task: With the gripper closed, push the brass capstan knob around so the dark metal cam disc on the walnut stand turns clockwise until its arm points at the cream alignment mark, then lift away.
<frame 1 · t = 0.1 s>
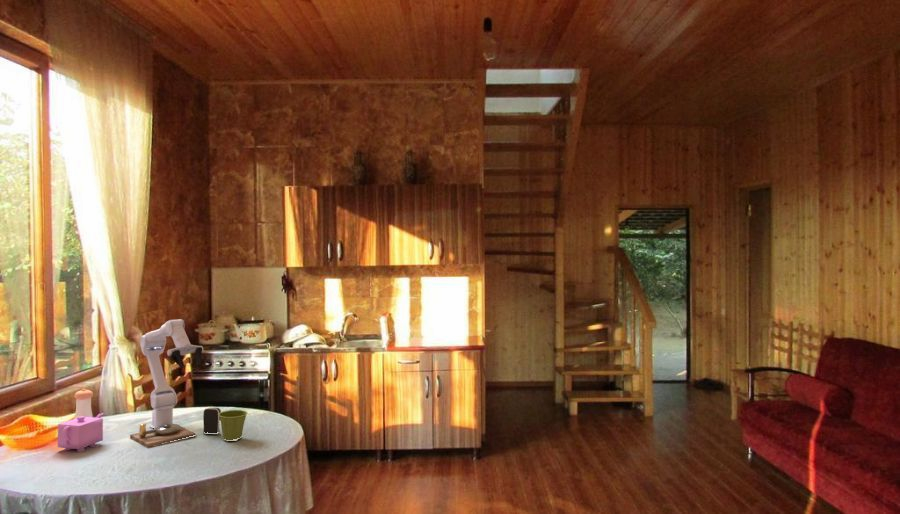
hand: (191, 365, 249), 32 cm above the table, tool tilted 50°, fingers open, 7 cm apart
battery charger: (212, 434, 260), on the table
cam disc: (159, 427, 254), point 4 cm above the table, hinge at 0.0°
pepper shaker: (83, 432, 260), on the table
plant pot: (232, 440, 252), on the table
teapot: (83, 446, 241), on the table
stand: (163, 437, 254), on the table
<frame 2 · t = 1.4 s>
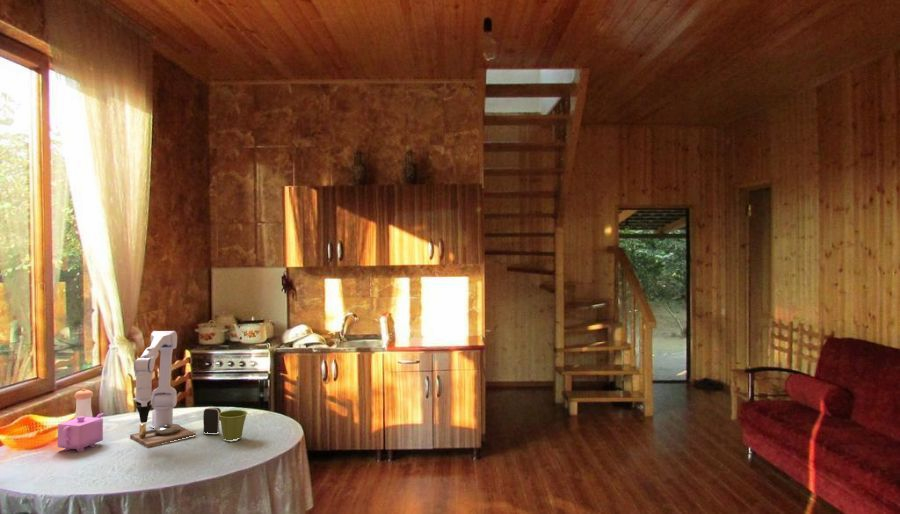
hand: (143, 420, 243), 10 cm above the table, tool pointing down, fingers open, 7 cm apart
nothing on the table moved.
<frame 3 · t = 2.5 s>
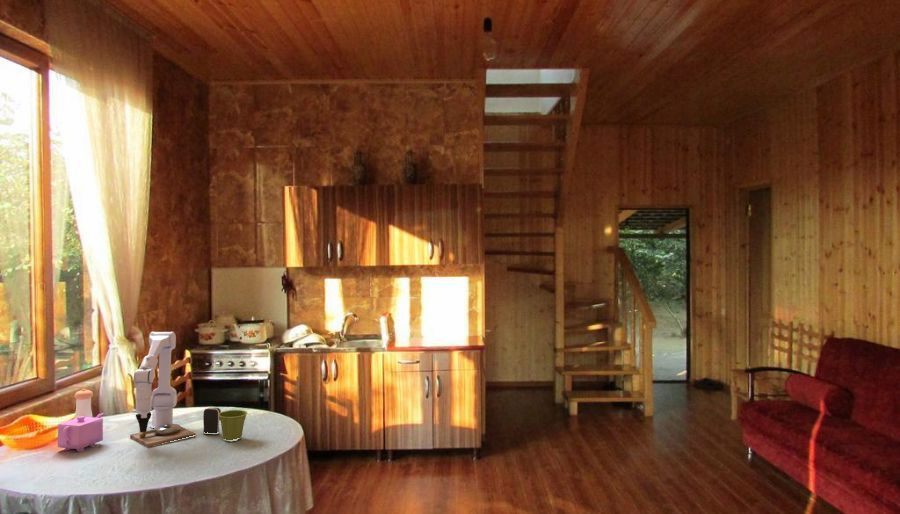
hand: (143, 431, 243), 6 cm above the table, tool pointing down, fingers closed
nothing on the table moved.
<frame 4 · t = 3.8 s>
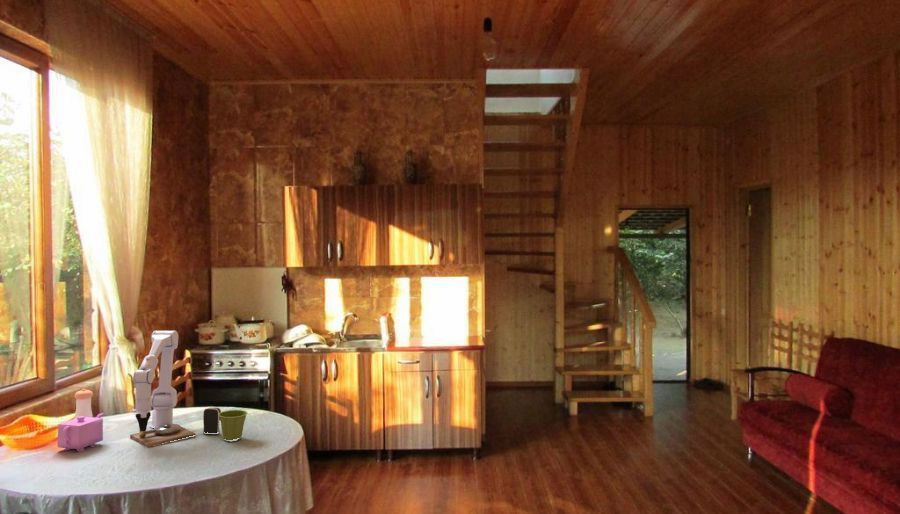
hand: (142, 430, 247), 5 cm above the table, tool pointing down, fingers closed
cam disc: (159, 427, 254), point 4 cm above the table, hinge at -0.1°, touching gripper
everything else where it was.
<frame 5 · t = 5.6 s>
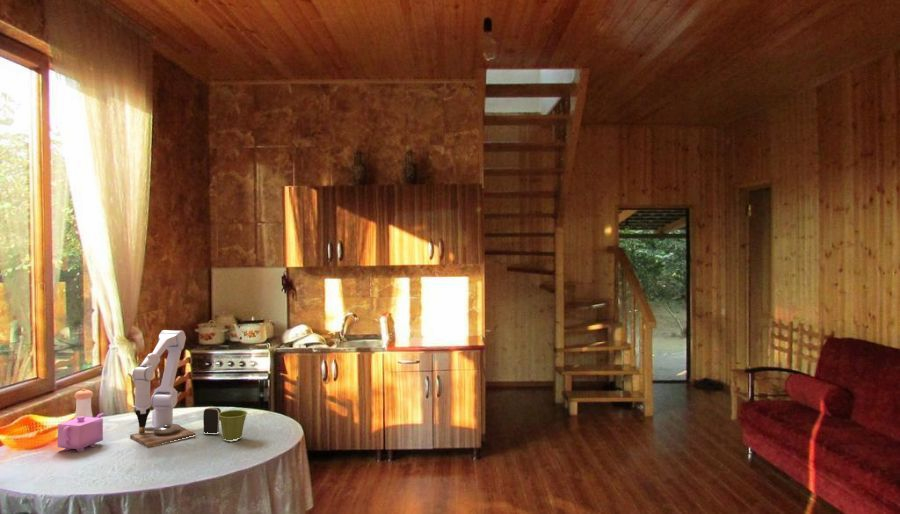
hand: (142, 426, 252), 5 cm above the table, tool pointing down, fingers closed
cam disc: (159, 426, 256), point 4 cm above the table, hinge at -36.0°, touching gripper
everything else where it was.
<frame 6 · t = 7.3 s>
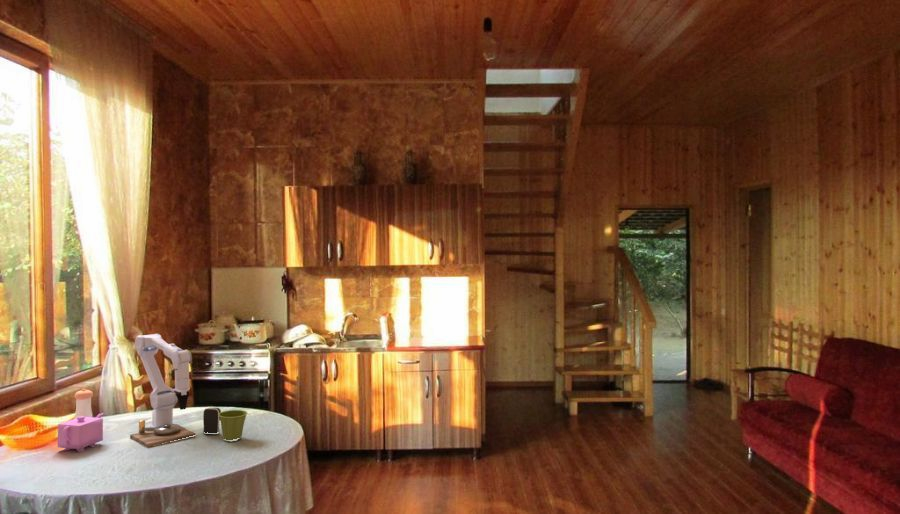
hand: (182, 409, 261), 10 cm above the table, tool pointing down, fingers closed
cam disc: (159, 426, 256), point 4 cm above the table, hinge at -36.1°
everything else where it was.
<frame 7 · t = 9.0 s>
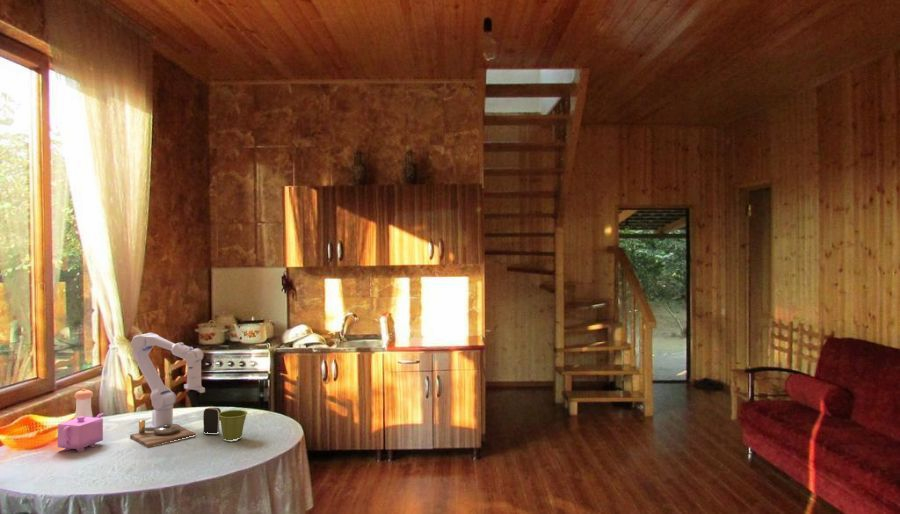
hand: (194, 406, 266), 10 cm above the table, tool pointing down, fingers closed
nothing on the table moved.
at the end: cam disc at -36° (first picture: +0°); battery charger moved 0.2 cm from its start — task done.
